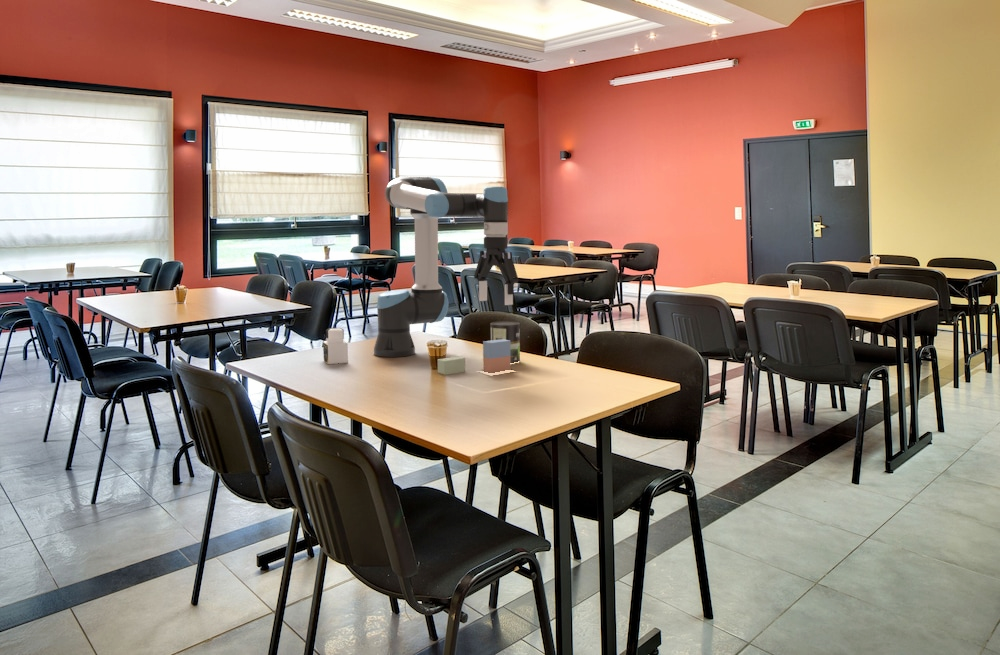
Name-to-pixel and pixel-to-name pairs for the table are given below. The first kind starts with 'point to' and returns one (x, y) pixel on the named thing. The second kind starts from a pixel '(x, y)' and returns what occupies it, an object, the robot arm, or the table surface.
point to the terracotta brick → (496, 364)
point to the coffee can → (508, 336)
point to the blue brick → (496, 348)
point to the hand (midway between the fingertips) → (495, 302)
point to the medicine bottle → (335, 347)
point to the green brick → (451, 365)
